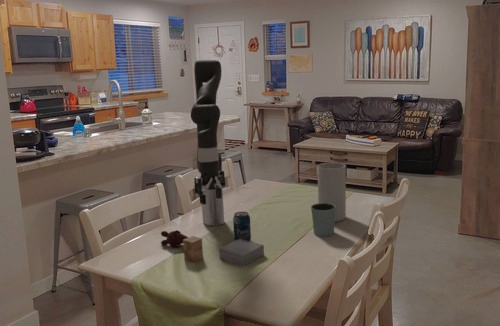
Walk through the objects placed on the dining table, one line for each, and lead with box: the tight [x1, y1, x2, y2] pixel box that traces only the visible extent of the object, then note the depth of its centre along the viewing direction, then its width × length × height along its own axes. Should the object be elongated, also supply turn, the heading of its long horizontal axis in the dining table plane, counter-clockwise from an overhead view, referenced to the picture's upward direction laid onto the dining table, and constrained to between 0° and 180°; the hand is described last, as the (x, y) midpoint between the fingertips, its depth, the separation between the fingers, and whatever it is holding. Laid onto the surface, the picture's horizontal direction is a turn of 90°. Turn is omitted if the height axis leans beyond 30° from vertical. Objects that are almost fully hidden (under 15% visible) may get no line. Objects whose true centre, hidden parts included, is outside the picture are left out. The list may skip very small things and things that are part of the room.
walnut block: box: [182, 235, 204, 263], centre depth 178 cm, size 5×5×8 cm
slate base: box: [218, 239, 265, 267], centre depth 179 cm, size 12×12×4 cm
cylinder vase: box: [317, 162, 347, 223], centre depth 215 cm, size 12×12×25 cm
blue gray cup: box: [310, 202, 336, 238], centre depth 198 cm, size 10×10×12 cm
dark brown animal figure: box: [160, 230, 190, 248], centre depth 191 cm, size 7×7×15 cm
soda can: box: [232, 211, 252, 241], centre depth 193 cm, size 7×7×12 cm
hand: (211, 201), depth 176 cm, fingers open, 8 cm apart
